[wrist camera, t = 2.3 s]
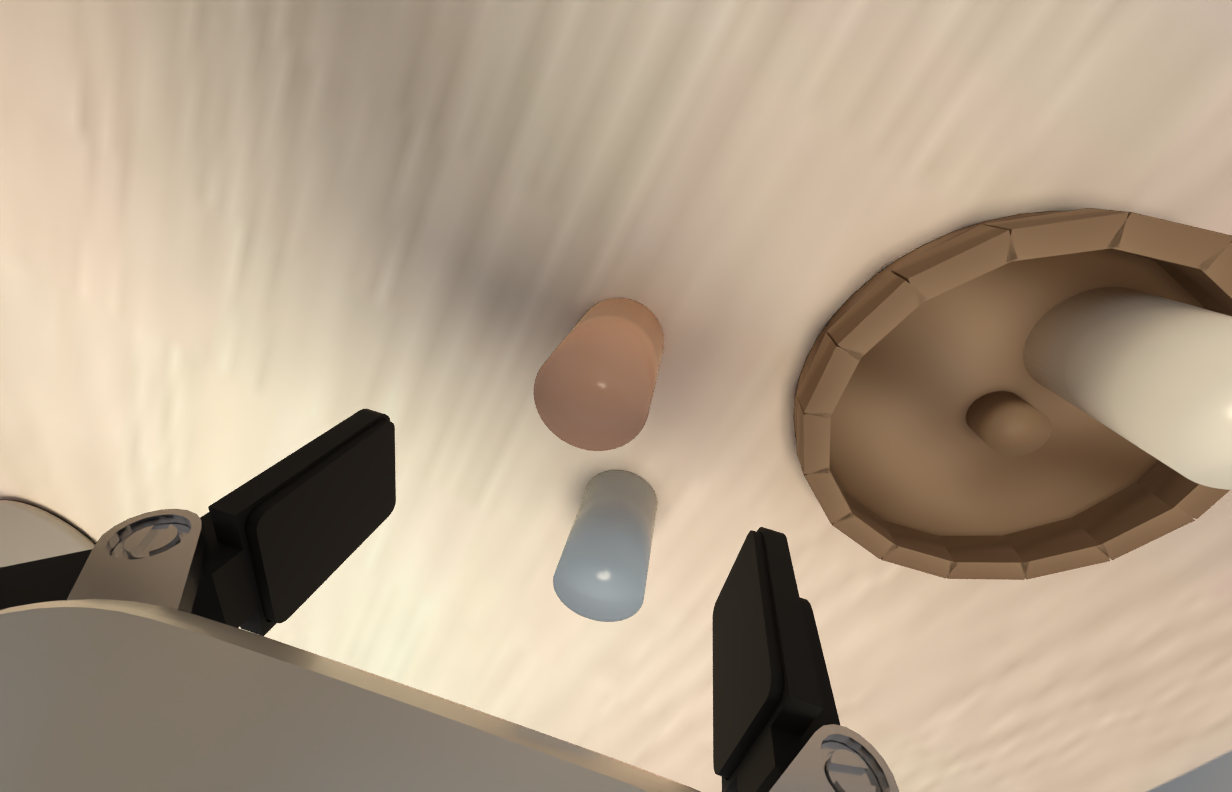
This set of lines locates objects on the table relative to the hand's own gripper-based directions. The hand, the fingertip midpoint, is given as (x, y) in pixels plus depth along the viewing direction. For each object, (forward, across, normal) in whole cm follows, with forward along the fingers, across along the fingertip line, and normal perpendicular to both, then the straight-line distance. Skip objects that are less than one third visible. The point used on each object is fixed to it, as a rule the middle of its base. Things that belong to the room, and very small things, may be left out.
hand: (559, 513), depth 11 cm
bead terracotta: (+11, +1, -1) cm, 11 cm away
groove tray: (+11, -15, -2) cm, 19 cm away
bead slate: (+11, -1, +8) cm, 14 cm away
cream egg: (+10, -16, -6) cm, 20 cm away
